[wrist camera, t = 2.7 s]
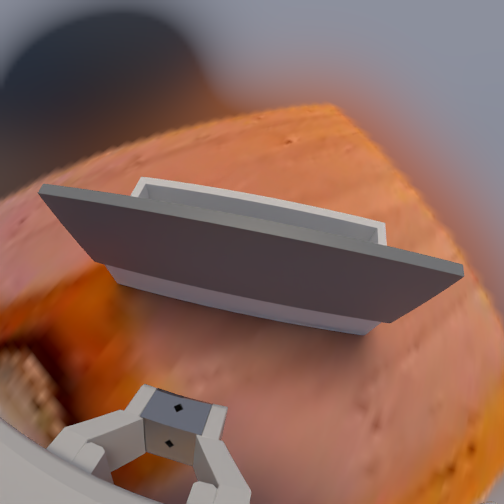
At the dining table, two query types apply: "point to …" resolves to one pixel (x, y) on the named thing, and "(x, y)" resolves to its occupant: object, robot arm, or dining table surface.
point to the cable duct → (261, 210)
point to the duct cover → (250, 255)
